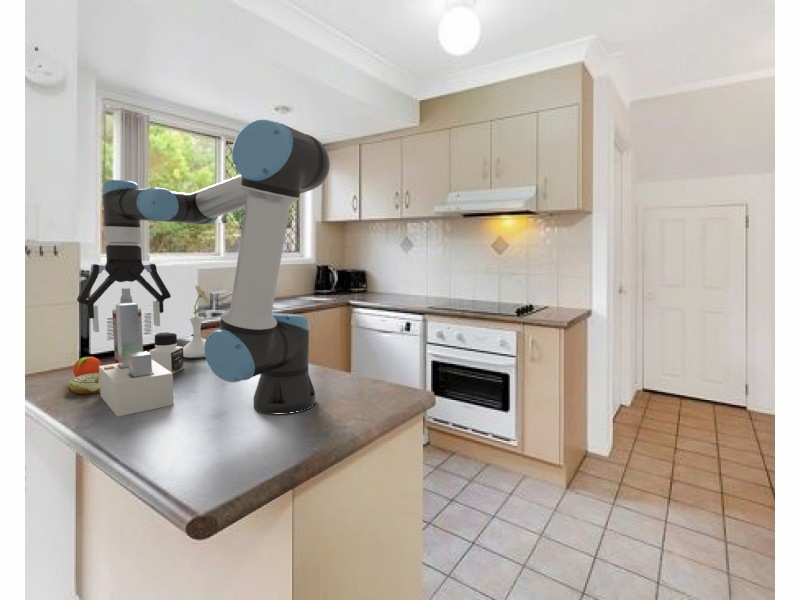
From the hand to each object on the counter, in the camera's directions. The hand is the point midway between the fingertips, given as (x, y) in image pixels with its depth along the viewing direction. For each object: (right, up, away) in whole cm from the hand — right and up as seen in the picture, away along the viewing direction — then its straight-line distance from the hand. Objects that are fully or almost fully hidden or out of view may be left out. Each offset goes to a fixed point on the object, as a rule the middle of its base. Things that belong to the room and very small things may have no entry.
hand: (127, 328), depth 114 cm
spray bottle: (-18, -14, +30) cm, 37 cm away
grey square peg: (+6, -19, -5) cm, 20 cm away
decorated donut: (-13, -17, +7) cm, 23 cm away
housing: (+3, -18, -1) cm, 18 cm away
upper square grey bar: (0, -12, +1) cm, 12 cm away
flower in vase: (-2, -13, +44) cm, 45 cm away
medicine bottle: (-3, -15, +25) cm, 29 cm away
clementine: (-19, -16, +13) cm, 28 cm away
